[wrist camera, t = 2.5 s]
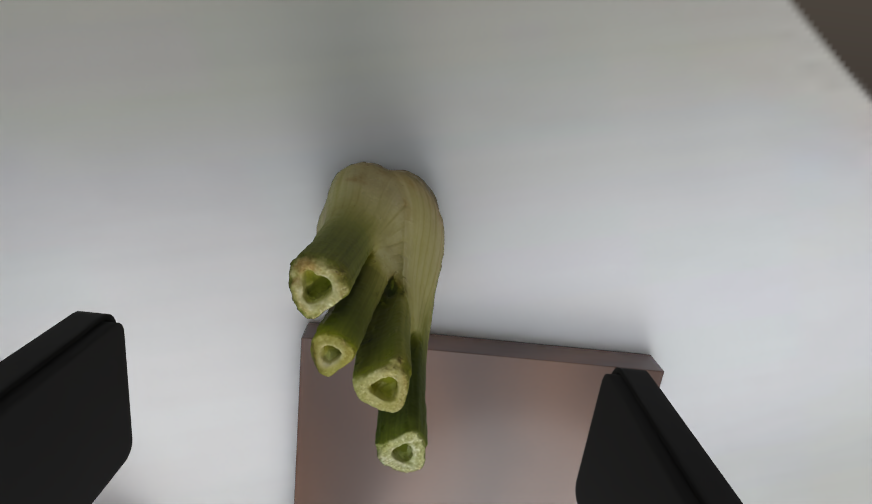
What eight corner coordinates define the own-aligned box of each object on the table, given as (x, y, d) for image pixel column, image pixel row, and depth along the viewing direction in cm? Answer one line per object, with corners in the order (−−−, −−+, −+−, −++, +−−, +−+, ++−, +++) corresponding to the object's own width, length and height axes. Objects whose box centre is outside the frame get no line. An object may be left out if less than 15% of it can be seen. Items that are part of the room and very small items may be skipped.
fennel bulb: (436, 289, 24) (452, 493, 12) (325, 282, 23) (235, 484, 12) (447, 159, 22) (477, 256, 10) (327, 150, 21) (221, 239, 10)
